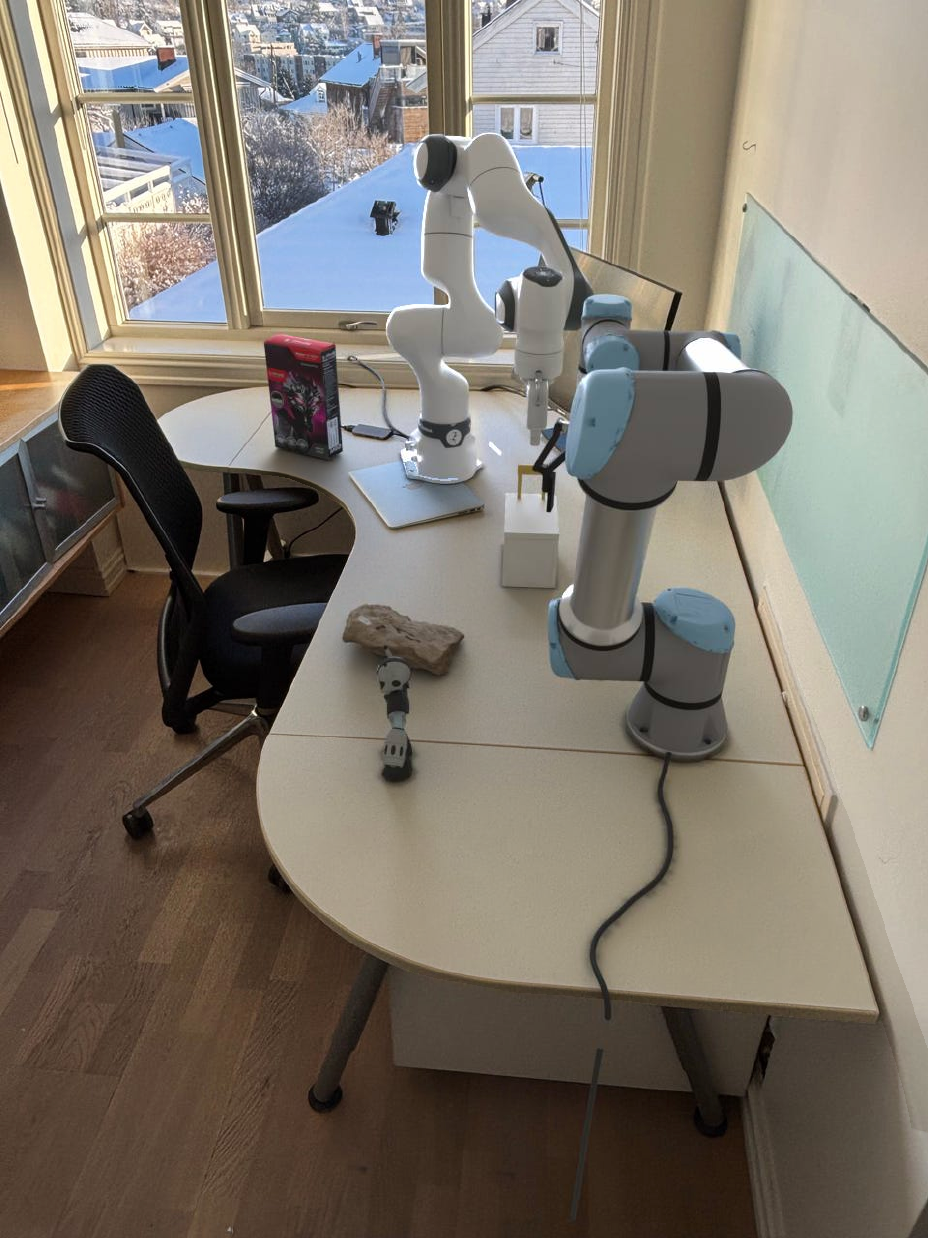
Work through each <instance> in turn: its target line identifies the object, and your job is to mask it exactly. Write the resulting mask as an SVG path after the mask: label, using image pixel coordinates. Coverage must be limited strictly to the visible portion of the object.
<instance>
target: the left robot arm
mask: <svg viewBox="0 0 928 1238" xmlns="http://www.w3.org/2000/svg"><path fill="white" fill-rule="evenodd" d="M413 173H414V177H415V180H416V182H417V184H418V185H419V186H420V188H422V189H424V190H426V191H428V192H427V194H426V195H427V196H426V199H425V204H424V210H423V219H422V229H421V261H420V262H421V263H420V265H421V266H420V267H421V268H420V270H421V275H422V276H423V278H424V279H425V281H426V282H427V283H429V284H430V285H432V286H433V287H435V288H436V289H439V290H440V291H442V292H444V293H445V294H446V295H447V296H448V304H443V305H441V304H439V305H438V304H418V303H417V304H410V305H404V306H399V307H396V308H394V309H393V311H392V312H391V313H390V314H389V316H388V318H387V321H386V325H385V335H386V339H387V342H388V345H389V346H390V347H391V349H392V350H393V351H394V352H395V353H396V354H398V355H399V356H400V357H402V359H404V361H406V363H407V364H408V365H409V366H410V368H411V369H412V371H413V373H414V375H415V377H416V380H417V384H418V388H419V398H420V399H419V400H420V411H419V412H420V414H419V418H418V420H417V428H416V429H414V430H413V431H412V432H411V433H410V434H409V435H407V434H406V433H404V432H402V431H401V430H399V429H397V428H396V427H395V426H394V425H393V424H392V422H391V421H390V419H389V417H388V416H387V412H386V383H385V381H384V379H383V377H382V376H381V374H379V372H377V371H376V369H374V368H372V367H371V366H369V365H368V364H367V363H365V362H363V361H362V360H361V359H359V358H358V357H356V356H355V355H352V354H349V355H348V356H347V357H346V360H350V359H354V360H355V359H359V361H357V362H358V363H359V364H360V365H361V366H363V367H365V368H366V369H368V370H369V371H371V372H373V373H374V375H376V376H377V377H378V379H379V381H380V382H381V385H382V401H381V402H382V403H381V407H382V414H383V417H384V420H385V421H386V423H387V425H388V426H389V428H390V429H391V430H392V431H394V432H396V433H397V434H399V435H400V436H402V437H404V438H406V439H409V441H405V443H404V449H401V450H400V457H401V461H402V464H403V468H404V470H405V474H406V476H407V478H408V479H411V480H420V481H424V482H428V483H433V484H439V485H440V484H441V485H448V484H451V485H452V484H458V483H463V482H465V481H468V480H469V479H472V477H474V476H475V473H476V472H477V471H478V470H480V469H481V468H483V462H482V461H481V460H479V459H478V458H477V439H476V435H475V434H473V432H471V426H472V419H471V414H470V385H469V383H468V381H467V379H466V378H465V377H464V376H463V375H462V374H461V373H460V372H458V371H456V370H455V369H452V368H451V367H449V366H448V365H447V364H446V363H445V361H444V358H448V359H449V358H450V359H479V358H485V357H491V356H493V355H494V354H496V353H497V351H499V349H500V347H501V345H502V343H503V339H504V332H505V331H506V332H508V333H514V334H516V340H515V344H514V358H513V359H514V360H513V361H514V362H513V372H514V374H515V375H517V376H518V377H520V379H519V381H520V382H521V383H522V384H523V385H524V386H525V424H526V429H527V430H529V435H530V437H529V444H530V446H532V447H534V446H535V447H539V446H540V444H541V436H542V431H545V430H546V429H547V426H548V415H549V414H548V411H549V386H551V385H553V384H554V383H555V380H556V378H558V377H560V376H562V373H563V362H564V350H565V349H564V348H565V344H564V339H563V333H564V332H563V331H570V332H571V331H572V332H573V331H574V332H576V331H579V330H581V325H582V321H581V317H582V314H583V306H584V302H585V300H586V299H587V298H588V297H590V296H593V295H595V294H594V290H593V287H592V285H591V283H590V281H589V280H588V278H587V277H586V275H585V274H584V273H583V272H582V270H581V268H580V267H579V265H578V263H577V261H576V259H575V256H574V254H573V252H572V250H571V248H570V245H569V244H568V241H567V240H566V237H565V236H564V233H563V231H562V229H561V227H560V225H559V223H558V221H557V219H556V217H555V216H554V213H553V212H552V210H551V209H550V208H549V207H547V206H546V205H545V204H544V203H541V202H540V201H539V200H538V199H537V198H536V197H535V196H534V195H533V193H532V192H531V191H530V189H529V188H528V186H527V184H526V182H525V179H524V176H523V172H522V170H521V166H520V162H519V159H518V156H517V153H516V151H515V150H514V149H513V148H512V146H511V145H510V142H509V141H508V140H507V139H506V138H505V137H504V136H502V134H499V133H496V132H484V133H481V134H478V135H477V136H475V137H473V136H468V137H465V136H457V135H456V136H455V135H445V134H443V133H436V134H435V133H434V134H428V135H425V136H424V137H423V138H422V139H421V140H420V141H419V142H418V144H417V146H416V149H415V152H414V158H413ZM474 219H475V220H476V222H477V224H478V225H479V227H481V228H482V229H483V231H486V232H487V233H489V234H491V235H492V236H495V237H498V238H503V239H506V240H511V241H516V242H519V243H523V244H525V245H527V246H530V247H532V248H534V249H535V250H536V251H538V252H539V254H540V255H541V257H542V259H543V261H544V263H545V265H546V266H545V265H536V266H535V265H534V266H530V267H527V268H525V269H524V270H523V271H522V272H521V273H520V275H519V276H517V277H512V278H509V279H505V280H504V281H503V282H502V283H500V285H499V286H498V288H497V289H496V291H495V293H494V309H493V308H492V307H491V306H490V305H489V304H488V303H487V302H486V301H485V299H484V298H483V296H482V294H481V293H480V290H479V289H478V286H477V282H476V279H475V274H474V273H475V272H474ZM504 330H505V331H504ZM351 357H352V358H351ZM489 446H490V447H491V448H492V449H493V450H494V451H495V452H496V453H497V454H498V455H499V456H501V455H502V451H501V450H500V449H499V448H497V446H495V444H494V443H493V442H491V441H489ZM407 461H411V462H414V464H415V466H416V469H417V474H418V475H422V476H427V477H431V478H438V479H448V478H458V480H451V481H440V480H432V479H428V478H424V477H420V476H411V475H409V474H408V473H407V470H406V466H405V463H404V462H407ZM409 472H415V470H409Z"/></svg>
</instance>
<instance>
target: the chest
mask: <svg viewBox="0 0 928 1238" xmlns="http://www.w3.org/2000/svg"><path fill="white" fill-rule="evenodd" d="M559 540H560V539H559ZM559 540H546V539H516V538H504V537H503V556H502V582H501V583H502V585H501V586H502V587H509V588H511V587H514V588H536V589H537V588H538V589H556V582H557V568H558V555H559V554H558V553H559Z"/></svg>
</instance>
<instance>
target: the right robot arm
mask: <svg viewBox="0 0 928 1238" xmlns="http://www.w3.org/2000/svg"><path fill="white" fill-rule="evenodd" d="M632 303H633V302H632V301H631V300H630V299H629V298H627V297H625V296H622V295H618V294H610V293H606V294H605V293H601V294H594V295H593V296H590V297H588V298H587V299H586V300H585V302H584V306H583V314H582V317H581V321H582V325H581V328H580V340H579V357H578V359H579V360H578V366H577V373H576V374H577V376H576V390H575V393H574V395H573V400H572V404H571V408H570V412H569V421H565V420H564V418H563V417H558V418H557V419H556V421H555V423H554V425H553V430H552V434H551V436H550V437H549V439H548V441H547V442H546V444H545V446H544V447H543V449H542V450H541V452H539V453H540V454H539V455H538V456H537V459H536V460H535V462H534V463H533V467H532V470H533V471H534V472H539V473H541V474H542V475H541V479H542V480H541V493H542V492H545V494H547V509H546V512H550V513H551V511H552V508H553V506H554V495H555V492H556V476H557V471H555V470H556V469H558V468H559V467H560V466H561V465H562V464H563V463H564V462H565V468H566V472H567V474H568V475H569V476H571V477H575V478H576V479H577V483H578V485H579V487H580V489H581V491H582V492H583V493H584V494H585V498H584V505H583V511H582V512H583V513H582V520H581V528H580V535H579V542H578V548H577V549H578V550H577V556H576V563H575V570H574V577H573V583H572V584H571V585H570V586H569V587H568V588H566V590H565V591H564V592H563V594H562V596H561V597H558V598H552V599H551V600H550V602H549V603H548V610H547V619H548V620H547V631H548V632H547V633H548V634H547V635H548V652H549V653H548V654H549V663H550V669H551V672H552V673H553V674H554V675H555V676H556V677H557V678H561V679H571V680H572V679H573V680H575V681H581V680H584V681H609V682H612V681H614V682H640V683H641V682H642V684H641V685H640V688H639V689H638V691H637V692H636V694H635V695H634V697H633V699H632V701H631V702H630V704H629V705H628V707H627V711H626V719H625V728H626V732H627V734H628V736H629V738H630V739H631V741H632V742H634V744H636V745H637V746H638V747H639V748H640V749H641V750H643V751H645V752H646V753H648V754H650V755H651V756H654V757H656V758H659V759H662V760H664V761H663V765H662V771H661V773H660V777H659V781H658V784H657V796H658V797H657V798H658V802H659V806H660V808H661V811H662V813H663V816H664V819H665V822H666V829H667V852H666V857H665V860H664V863H663V865H662V867H661V869H660V871H659V873H658V874H657V875H656V876H655V877H654V878H653V879H652V880H651V881H650V882H649V883H648V884H646V885H645V886H644V887H642V888H641V889H639V890H638V891H637V892H636V893H634V894H633V895H632V896H630V898H628V900H626V901H625V903H623V904H622V905H621V906H620V907H619V908H618V909H617V910H616V911H615V912H614V913H612V914H611V915H610V916H609V917H608V918H607V919H606V920H605V921H604V922H603V923H602V924H601V925H600V926H599V928H598V929H597V930H596V931H595V933H594V936H593V937H592V940H591V943H590V947H589V962H590V966H591V969H592V971H593V973H594V976H595V979H596V980H597V982H598V984H599V987H600V989H601V992H602V997H603V1004H604V1005H603V1006H604V1019H605V1020H606V1021H611V1019H612V1001H611V995H610V992H609V988H608V985H607V983H606V981H605V978H604V976H603V974H602V973H601V969H600V967H599V964H598V963H597V962H598V961H597V956H596V955H597V954H596V952H597V946H598V943H599V941H600V939H601V937H602V935H603V934H604V933H605V932H606V930H607V929H608V928H609V927H610V926H612V924H613V923H615V921H617V920H618V919H619V918H620V917H621V916H622V915H623V914H625V912H626V911H627V910H628V909H630V907H631V906H632V905H633V904H634V903H635V902H637V901H638V900H639V899H640V898H642V897H644V896H645V895H646V894H647V893H649V892H650V891H651V890H652V889H654V888H655V887H656V886H657V885H658V884H659V883H660V882H661V881H662V880H663V878H664V877H665V875H666V874H667V872H668V870H669V868H670V865H671V864H672V863H671V862H672V859H673V854H674V827H673V821H672V818H671V814H670V812H669V810H668V807H667V804H666V801H665V796H664V783H665V780H666V778H667V773H668V769H669V765H670V762H675V763H694V762H700V761H703V760H706V759H709V758H711V757H714V755H716V754H718V752H720V751H721V750H722V748H723V747H724V744H725V743H726V740H727V739H726V738H727V734H728V728H729V727H728V721H727V716H726V712H725V708H724V707H725V706H724V701H723V692H724V686H725V682H726V678H727V672H728V668H729V664H730V659H731V654H732V651H733V649H734V646H735V632H736V620H735V617H734V614H733V612H732V611H731V609H730V608H729V607H728V606H727V605H726V604H725V603H724V602H723V601H722V600H720V599H718V598H717V597H715V596H714V595H712V594H710V593H708V592H705V591H702V590H699V589H696V588H691V587H684V586H674V587H673V586H672V587H669V588H667V589H664V590H662V591H660V592H659V593H658V594H657V596H656V597H655V598H654V600H653V602H645V601H644V602H643V601H641V600H640V599H639V597H638V595H637V594H638V590H639V586H640V583H641V577H642V573H643V570H644V566H645V561H646V558H647V552H648V548H649V545H650V540H651V536H652V532H653V528H654V523H655V519H656V515H657V510H658V507H660V506H662V505H663V504H664V503H666V502H667V501H668V500H669V499H670V498H671V497H672V496H673V494H674V492H675V490H676V488H677V485H678V482H724V481H730V480H731V481H732V480H735V479H737V478H740V477H743V476H746V475H749V474H751V473H753V472H755V471H757V470H758V469H760V468H762V467H763V466H765V464H767V463H768V462H769V461H771V459H773V458H774V457H775V456H776V455H777V454H778V453H779V452H780V450H781V449H782V447H783V446H784V445H785V442H786V441H787V439H788V436H789V435H790V433H791V430H792V426H793V415H794V410H793V405H792V401H791V398H790V396H789V393H788V391H787V390H786V388H785V387H784V386H783V385H782V383H780V382H779V381H778V380H777V379H776V378H775V377H773V376H772V375H770V374H769V373H768V372H766V371H763V370H761V369H756V368H750V367H748V365H746V364H745V363H744V362H743V361H742V345H741V339H740V337H739V336H738V334H736V333H734V332H727V331H720V330H713V329H712V330H710V331H709V330H707V331H705V330H703V331H702V330H666V329H665V330H663V329H661V330H660V329H631V324H632V321H633V317H632V316H633V315H632V314H633V304H632ZM566 432H567V433H566ZM565 434H566V439H565V440H566V441H565V447H564V448H563V449H562V450H560V452H559V453H558V454H556V456H554V457H553V458H552V459H551V460H550V461H549V462H548V463H545V461H546V460H547V458H548V456H549V455H550V453H551V452H552V450H553V449H554V447H555V445H556V444H557V442H558V440H559V439H560V437H561V436H564V435H565ZM603 1055H604V1049H602V1048H598V1047H597V1048H596V1052H595V1057H594V1065H593V1068H592V1075H591V1080H590V1081H591V1082H590V1088H589V1094H588V1100H587V1107H586V1110H585V1111H586V1112H585V1119H584V1124H583V1131H582V1138H581V1145H580V1151H579V1157H578V1158H579V1159H578V1164H577V1170H576V1178H575V1184H574V1191H573V1197H572V1202H571V1203H572V1204H571V1210H570V1216H569V1220H570V1221H571V1222H575V1221H576V1220H577V1219H576V1218H577V1212H578V1205H579V1200H580V1193H581V1189H582V1188H581V1187H582V1182H583V1181H582V1179H583V1175H584V1169H585V1163H586V1162H585V1161H586V1156H587V1149H588V1143H589V1136H590V1131H591V1125H592V1120H593V1119H592V1118H593V1112H594V1107H595V1099H596V1094H597V1089H598V1083H599V1077H600V1072H601V1066H602V1060H603Z"/></svg>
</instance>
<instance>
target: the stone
mask: <svg viewBox="0 0 928 1238" xmlns="http://www.w3.org/2000/svg"><path fill="white" fill-rule="evenodd" d="M464 638H465V634H464V633H463V632H461V630H458V629H456V628H455V627H452V626H449V625H442V624H435V623H430V622H427V621H420V620H412V619H411V618H410V617H409V616H408V615H403V614H400V613H399V612H398V611H396V610H394V609H392V606H390V605H383V604H380V603H379V604H368V603H364V604H362V605H359V606H357V607H356V608H354V609H352V610H350V612H349V613H348V614H347V618H346V625H345V627H344V630H343V633H342V638H341V639H342V642H343V643H345V644H347V643H354V644H357V645H359V646H360V647H361V648H362V650H364V651H366V652H370V653H374V654H375V655H379V656H384V657H387V655H386V652H385V650H384V645H386V646H387V647H388V649H389V651H390V653H391V654H392V656H393V657H400V658H402V659H404V660H406V661H407V662H408V663H409V664H410V666H411V668H412V669H413V668H414V669H420V670H426V671H428V672H430V673H431V674H433V675H436V676H439V677H440V676H443V675H445V674H446V673H447V672H448V670H449V668H450V667H451V664H452V658H453V656H454V655H455V654H456V651H458V648H459V646H460V644H461V642H462V641H463V639H464Z"/></svg>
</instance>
